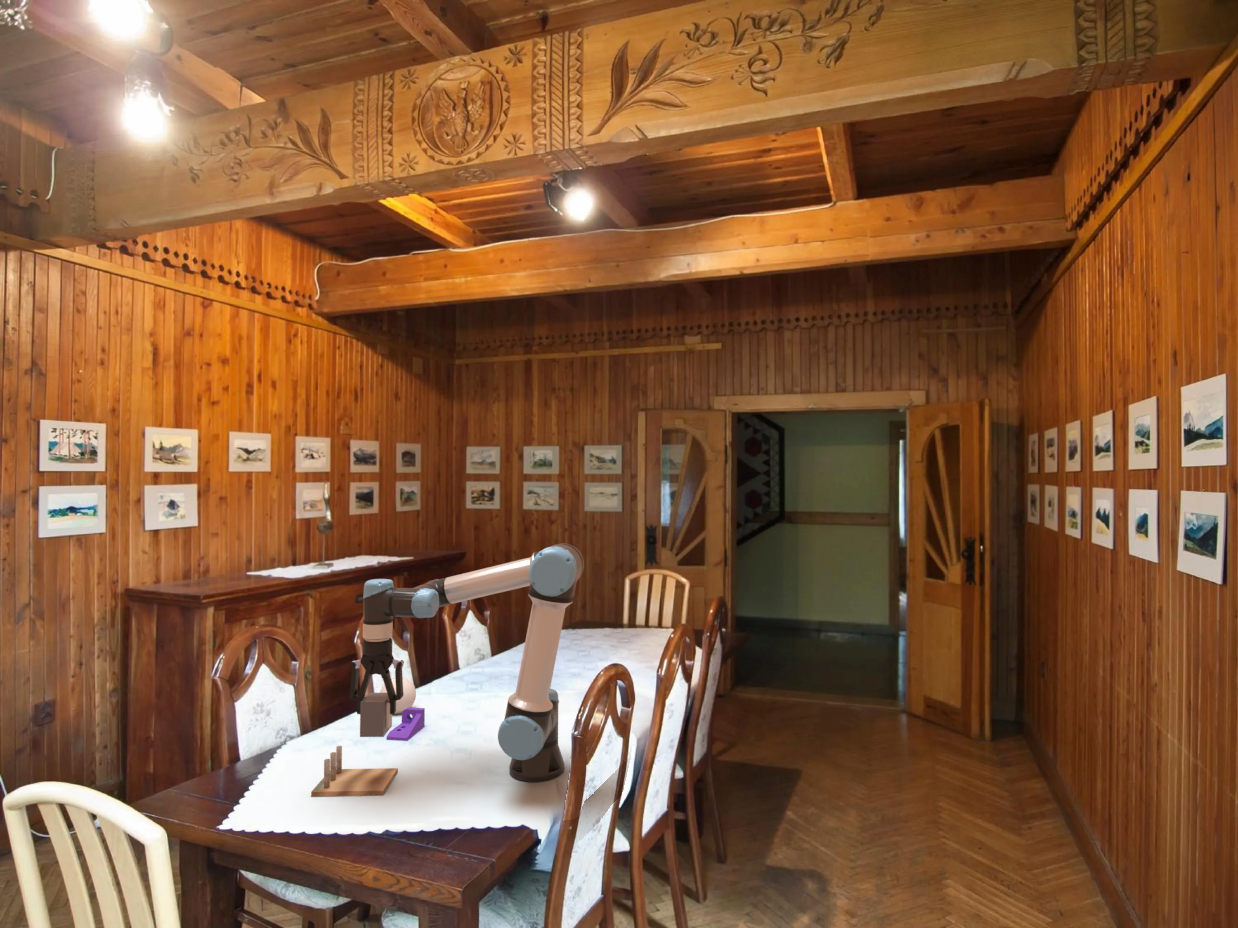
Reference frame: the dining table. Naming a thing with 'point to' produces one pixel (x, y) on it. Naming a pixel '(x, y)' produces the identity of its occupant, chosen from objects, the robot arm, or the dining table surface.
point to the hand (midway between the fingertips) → (376, 725)
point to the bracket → (408, 724)
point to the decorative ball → (408, 695)
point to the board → (352, 779)
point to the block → (373, 715)
